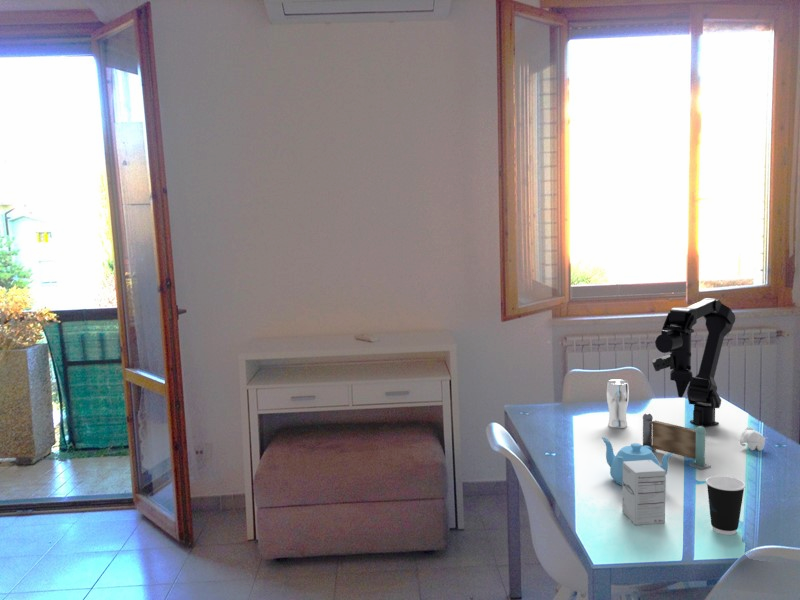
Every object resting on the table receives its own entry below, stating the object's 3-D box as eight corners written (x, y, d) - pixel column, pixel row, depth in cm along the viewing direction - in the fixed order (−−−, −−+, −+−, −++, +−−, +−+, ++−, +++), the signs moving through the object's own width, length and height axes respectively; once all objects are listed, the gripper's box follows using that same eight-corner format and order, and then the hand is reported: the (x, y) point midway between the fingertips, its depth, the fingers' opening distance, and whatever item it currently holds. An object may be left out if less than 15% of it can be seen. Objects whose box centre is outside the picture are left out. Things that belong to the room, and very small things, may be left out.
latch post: (699, 462, 192) (700, 423, 191) (711, 467, 189) (711, 427, 187) (688, 465, 191) (689, 425, 189) (700, 469, 187) (701, 429, 186)
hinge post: (647, 445, 208) (647, 410, 207) (660, 450, 203) (660, 414, 202) (634, 448, 206) (635, 412, 205) (647, 453, 201) (647, 416, 200)
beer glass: (626, 422, 231) (626, 379, 229) (630, 429, 224) (631, 384, 222) (604, 422, 232) (604, 379, 230) (609, 429, 225) (609, 384, 223)
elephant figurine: (735, 444, 206) (735, 425, 205) (764, 445, 204) (764, 426, 204) (741, 452, 199) (742, 432, 199) (771, 453, 198) (772, 433, 197)
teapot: (655, 471, 187) (655, 435, 186) (675, 493, 172) (676, 453, 171) (601, 472, 188) (601, 436, 186) (617, 494, 173) (617, 454, 172)
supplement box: (621, 512, 162) (621, 460, 161) (651, 510, 163) (652, 458, 161) (634, 526, 155) (634, 472, 153) (666, 523, 155) (666, 470, 154)
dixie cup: (696, 527, 153) (697, 480, 152) (720, 519, 157) (721, 473, 156) (728, 541, 146) (729, 492, 145) (752, 532, 150) (753, 484, 149)
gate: (651, 448, 202) (651, 420, 201) (655, 447, 204) (655, 418, 202) (701, 462, 190) (702, 431, 189) (705, 460, 191) (706, 430, 190)
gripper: (654, 342, 226) (653, 388, 228) (653, 352, 209) (652, 402, 211) (690, 343, 222) (689, 390, 224) (692, 354, 205) (692, 405, 207)
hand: (680, 396), depth 216 cm, fingers closed
